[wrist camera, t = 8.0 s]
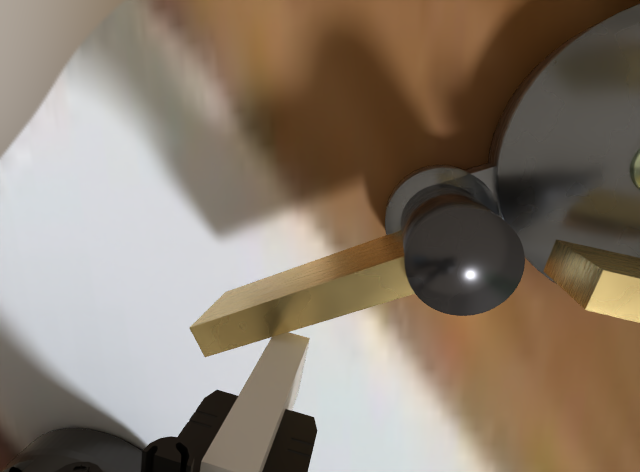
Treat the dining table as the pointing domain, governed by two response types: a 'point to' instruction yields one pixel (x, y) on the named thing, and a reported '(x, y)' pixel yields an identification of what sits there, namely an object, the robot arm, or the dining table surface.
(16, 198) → the dining table surface
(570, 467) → the dining table surface
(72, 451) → the robot arm
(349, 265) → the black and tan lever
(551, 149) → the tribrach plate
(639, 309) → the lever
